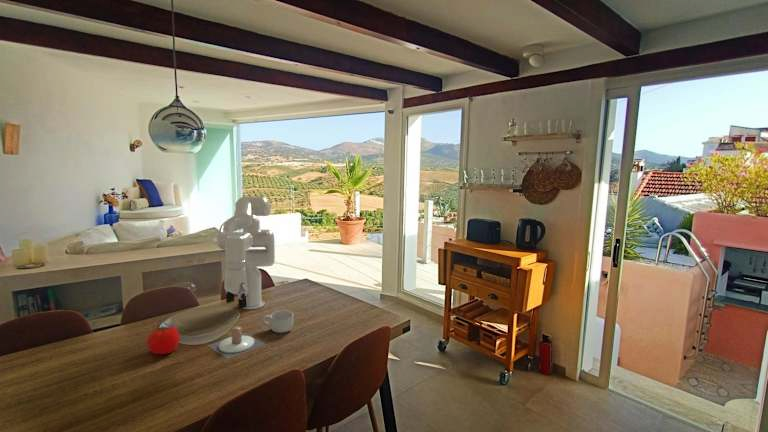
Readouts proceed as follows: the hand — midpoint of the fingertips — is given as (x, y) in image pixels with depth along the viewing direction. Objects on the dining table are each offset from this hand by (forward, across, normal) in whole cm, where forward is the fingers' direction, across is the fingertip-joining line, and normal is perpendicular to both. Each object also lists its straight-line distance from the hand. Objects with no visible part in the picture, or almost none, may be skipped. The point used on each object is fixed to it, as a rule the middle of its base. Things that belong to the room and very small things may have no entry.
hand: (236, 304), depth 154 cm
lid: (+18, 0, 0) cm, 18 cm away
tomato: (+19, -17, -22) cm, 34 cm away
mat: (+18, 0, 0) cm, 18 cm away
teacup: (+18, 0, +21) cm, 28 cm away
